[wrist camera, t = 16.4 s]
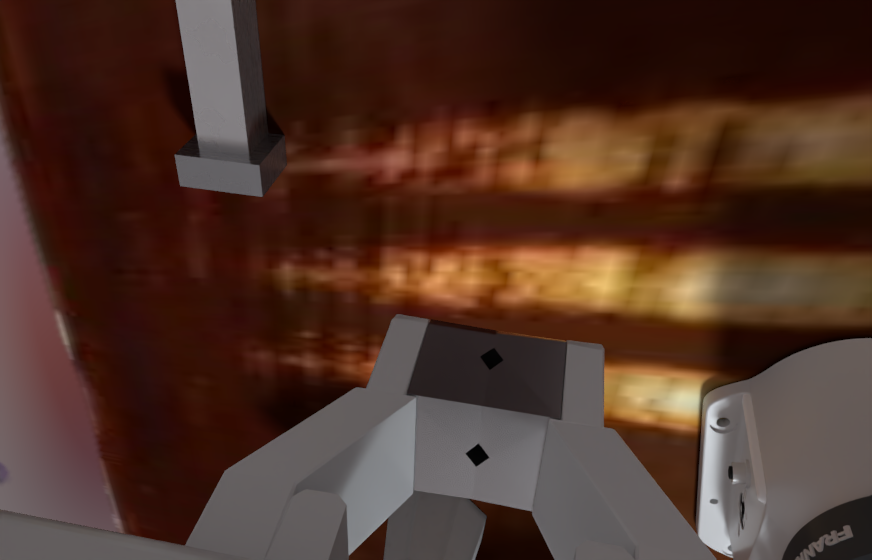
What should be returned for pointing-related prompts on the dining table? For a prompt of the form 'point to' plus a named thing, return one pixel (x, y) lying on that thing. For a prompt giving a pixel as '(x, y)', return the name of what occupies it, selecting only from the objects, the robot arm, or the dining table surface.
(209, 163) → the slide rail
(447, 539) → the coffee maker
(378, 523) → the robot arm
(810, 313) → the dining table surface
